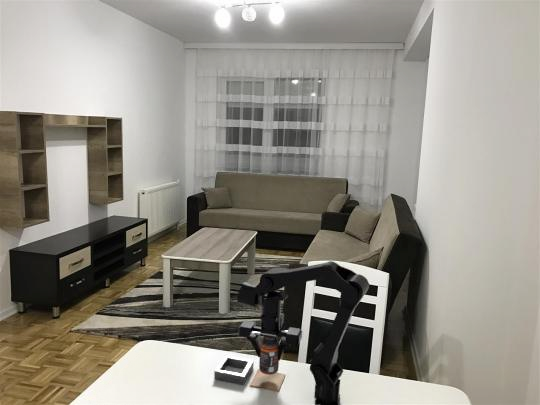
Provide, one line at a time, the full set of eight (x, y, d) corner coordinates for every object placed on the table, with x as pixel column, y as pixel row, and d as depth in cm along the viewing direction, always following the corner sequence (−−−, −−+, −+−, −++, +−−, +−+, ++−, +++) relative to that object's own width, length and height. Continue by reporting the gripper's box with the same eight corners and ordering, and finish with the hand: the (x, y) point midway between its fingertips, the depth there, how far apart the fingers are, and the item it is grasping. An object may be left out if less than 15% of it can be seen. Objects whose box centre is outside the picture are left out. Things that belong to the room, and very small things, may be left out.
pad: (285, 375, 144) (285, 374, 143) (278, 391, 135) (278, 390, 135) (258, 370, 146) (258, 369, 146) (249, 386, 137) (249, 384, 137)
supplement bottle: (276, 376, 136) (277, 342, 134) (257, 374, 137) (258, 339, 135) (280, 366, 142) (281, 332, 140) (261, 363, 143) (262, 330, 141)
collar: (253, 368, 146) (253, 360, 146) (244, 385, 137) (244, 376, 137) (225, 363, 149) (225, 355, 148) (214, 379, 140) (214, 370, 139)
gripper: (306, 304, 141) (304, 350, 144) (249, 296, 146) (248, 341, 149) (299, 319, 131) (297, 368, 134) (238, 310, 135) (237, 358, 138)
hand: (269, 358), depth 139 cm, fingers closed on supplement bottle, 6 cm apart
